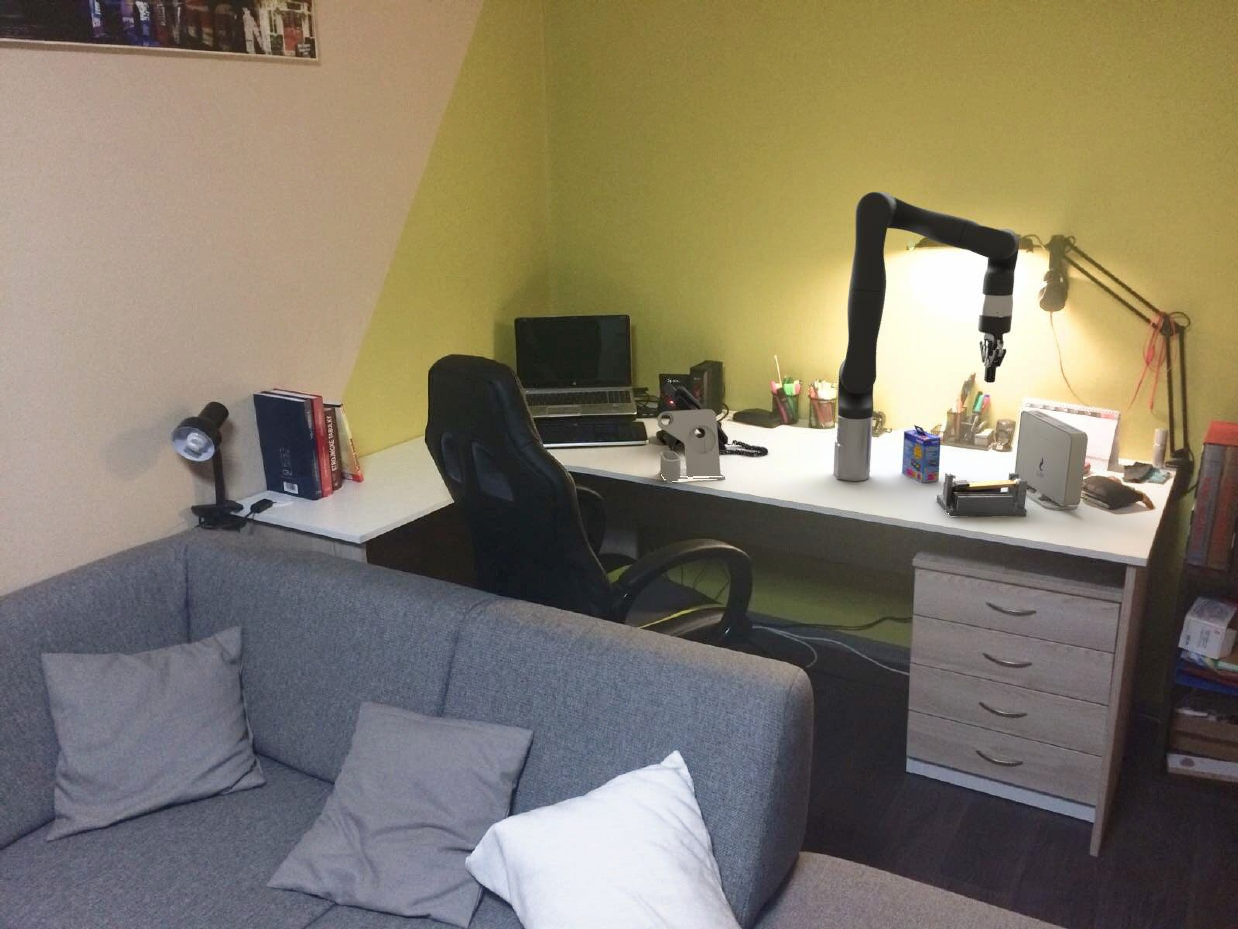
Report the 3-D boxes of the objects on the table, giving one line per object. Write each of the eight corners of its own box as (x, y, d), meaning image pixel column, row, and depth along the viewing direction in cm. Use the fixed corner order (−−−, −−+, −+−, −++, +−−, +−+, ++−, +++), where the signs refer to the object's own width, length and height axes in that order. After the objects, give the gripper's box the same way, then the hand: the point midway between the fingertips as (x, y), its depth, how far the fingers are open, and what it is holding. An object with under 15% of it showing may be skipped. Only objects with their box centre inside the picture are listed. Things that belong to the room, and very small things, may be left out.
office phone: (771, 457, 287) (772, 390, 281) (676, 462, 284) (676, 394, 278) (747, 431, 315) (748, 370, 309) (660, 436, 312) (660, 374, 306)
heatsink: (950, 517, 234) (953, 481, 231) (936, 500, 246) (939, 466, 243) (1028, 516, 233) (1032, 480, 231) (1010, 500, 245) (1013, 466, 242)
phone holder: (664, 483, 264) (663, 419, 259) (657, 472, 273) (657, 410, 268) (726, 479, 266) (727, 415, 261) (717, 469, 276) (718, 407, 270)
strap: (957, 493, 236) (957, 485, 236) (952, 488, 240) (953, 480, 240) (1024, 488, 236) (1024, 480, 235) (1018, 483, 239) (1018, 475, 239)
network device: (1005, 482, 258) (1012, 409, 253) (1037, 481, 259) (1045, 408, 253) (1054, 515, 234) (1064, 435, 228) (1089, 513, 235) (1099, 433, 229)
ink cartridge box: (900, 473, 268) (903, 422, 264) (917, 470, 270) (920, 420, 266) (921, 483, 259) (925, 431, 255) (939, 481, 261) (943, 428, 257)
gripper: (971, 309, 245) (966, 376, 250) (989, 316, 232) (982, 387, 237) (1001, 308, 245) (995, 376, 250) (1021, 316, 232) (1014, 387, 237)
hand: (989, 381), depth 243 cm, fingers closed
